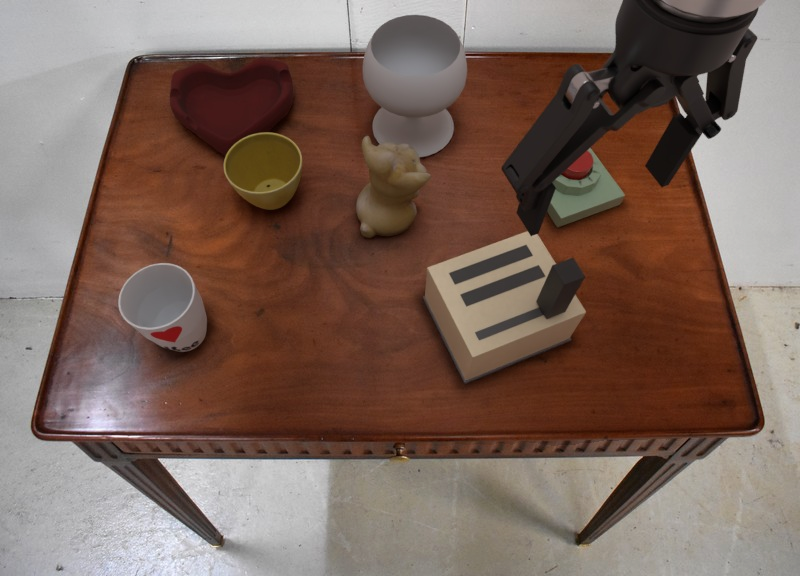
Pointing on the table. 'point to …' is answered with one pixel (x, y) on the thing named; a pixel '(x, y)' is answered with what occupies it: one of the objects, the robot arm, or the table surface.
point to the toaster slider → (560, 288)
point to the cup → (164, 307)
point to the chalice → (414, 81)
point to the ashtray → (231, 100)
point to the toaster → (496, 306)
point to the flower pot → (264, 169)
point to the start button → (579, 167)
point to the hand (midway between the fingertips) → (593, 198)
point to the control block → (584, 195)
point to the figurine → (389, 188)
